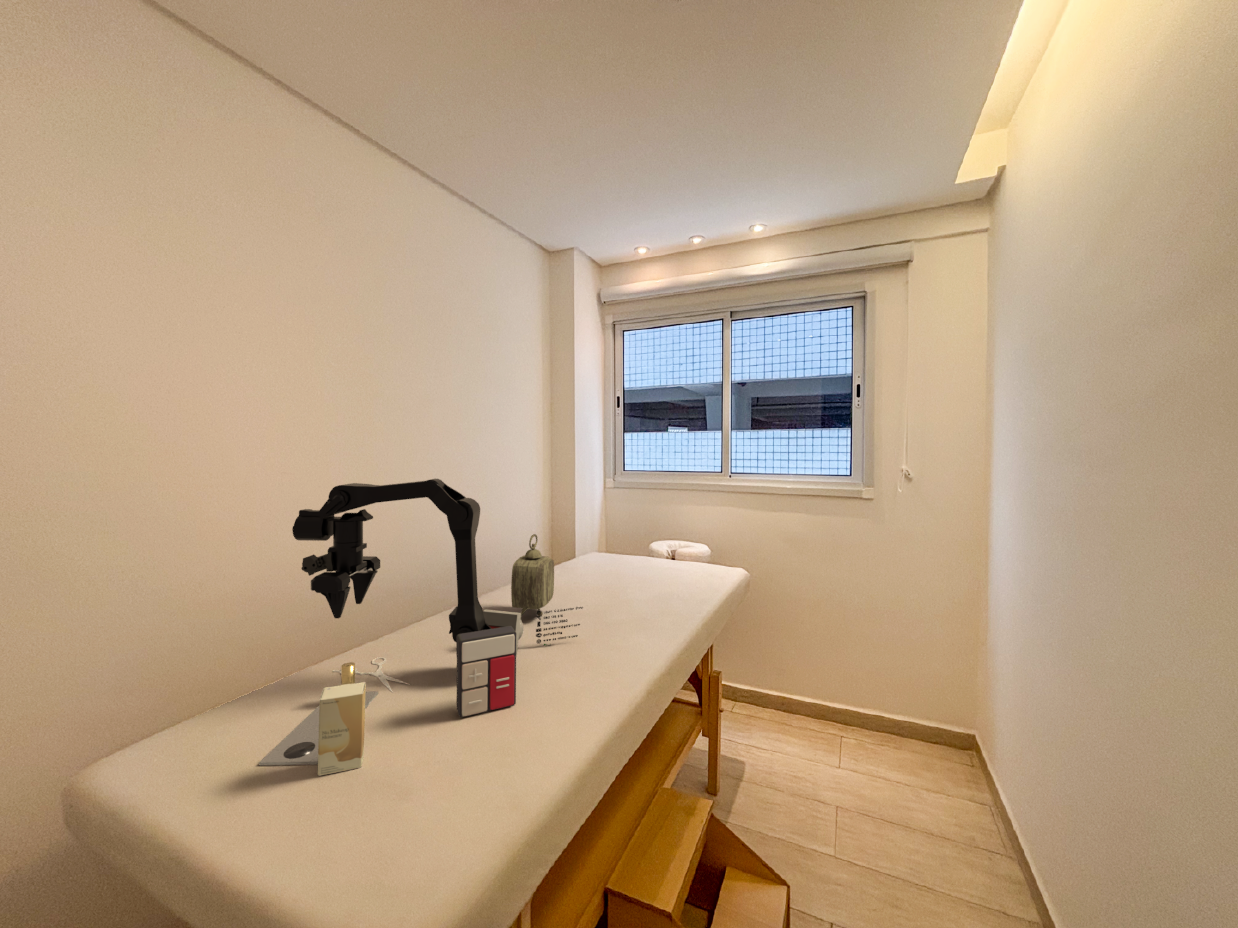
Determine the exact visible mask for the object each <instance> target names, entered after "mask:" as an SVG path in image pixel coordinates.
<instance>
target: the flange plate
mask: <svg viewBox="0 0 1238 928" xmlns="http://www.w3.org/2000/svg"><path fill="white" fill-rule="evenodd" d="M378 695H379V691H376V690H375V691H373V690H372V691H369V690H368V691H366V694H365V709H367V708H368V706H369V705H370V704H371V703H372V701H374V699H375V698H376V697H377V696H378ZM319 706H320V704H319V705H318V706H317V707H316V708H315V709H313V711H312V712H311V713H310V714H308V715H307V716H306V717H305V718H304V719H303V720H302V721H301V722H300V723H299V724H298V725H296V726H295V728H294V729H292V731H290V733H288V734H287V735H286V737H284V738H283V739H282V740H281V741H280V742H279V743H278V744H277V745H276V746H275V747H273V748H272V749H271V751H269V753H267V754H266V755H265V756H264V757H263V758H262V759H261V760H260V761H259V762H258V766H296V765H298V766H301V765H302V766H303V765H305V766H306V765H311V766H312V765H318V742H319Z"/></svg>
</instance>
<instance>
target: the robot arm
mask: <svg viewBox="0 0 1238 928" xmlns="http://www.w3.org/2000/svg"><path fill="white" fill-rule="evenodd" d="M424 498H427V499H429V500H430V501H431V502H432V503H433V505H435V506H436V508H437V509H438V510H439V511H440V512H442V513H443V514H444V515H446V518H447V524H448V527H449V530H450V533H451V535H452V538H453V540H454V547H455V551H454V552H455V569H456V572H455V573H456V589H457V592H456V593H457V605H455V607H454V608H453V610H452V611H451V612H450V613H449V614H448V620H449V625H450V627H449V632H448V634H449V635H451V637H452V640H453V641H454V642H455V643H456V636H457V635H458V634H462V633H469V632H475V631H481V630H487V629H492V628H491V627H490V626H489V625H488V624H487V623H485V618H484V614H483V611H484V610H483V608H482V605H481V602H480V601H479V595H478V593H479V592H478V577H477V576H478V573H477V555H476V554H477V550H476V548H477V547H476V537H477V536H476V535H477V533H478V528H479V523H480V516H481V506H480V503H479V502H477V501H476V499H474V498H471V497H466V496H465V495H464V494H462V493H460V491H457V490H456V489H454V488H452V487H451V486H449V485H448V484H446V483H445V482H444V481H443V480H442V479H439V478H432V479H427V480H418V481H410V482H402V483H400V482H399V483H391V484H390V483H389V484H382V485H379V484H370V483H360V482H358V483H357V482H352V483H347V484H345V483H344V484H340V485H336V486H333V487H332V488H331V490H330V492H329V494H328V499H327V500H326V501H325V502H324V504H323V505H322V506H321V508H320V509H309V508H305V509H300V510H299V511H298V516H296V519H295V520H294V523H293V525H292V536H293V538H294V539H295V540H296V541H307V542H308V541H310V542H311V541H313V542H314V541H315V542H316V541H317V542H319V541H323V542H325V541H328V540H330V539H331V537H333V540H332V541H333V543H332V546H330V547H328V549H327V553H326V554H321V555H320V556H317V555H315V554H312V555H309V556H305V557H303V558H302V563H301V567H300V568H301V570H302V572H304V573H307V575H308V576H313V575H314V574H316V573H319V572H322V571H323V572H322V573H320V574H317V575H316V576H314V577H313V578H312V579H311V580H310V591H312V592H313V591H314V592H315V593H316V594H321V595H322V596H324V597H325V599H326V601H327V603H328V605H329V608H330V610H331V613H332V615H333V618H334V619H340V618H341V617H342V615H343V612H344V610H345V606H346V603H347V600H348V596H349V594H350V590H351V586H350V584H351V581H352V585H353V593H354V600H355V604H356V605H360V604H362V603H363V601H364V599H365V597H366V594H367V592H368V590H369V589H370V586H371V584H372V582H373V580H374V578H375V576H376V575H377V573H378V570H379V569H380V568H381V559H380V558H379V557H378V556H375V555H373V556H372V555H371V556H368V555H367V556H366V555H365V556H364V550H365V549H367V547H368V545H367V544H368V543H367V542H365V543H364V522H367V521H370V520H373V519H374V516H373V515H372V514H371V513H370V512H368V511H367V509H365V508H363V509H360V510H359V511H358V512H348V511H352V510H355V509H359V508H362V507H366V506H369V505H374V504H377V503H384V502H385V503H386V502H395V501H403V500H412V499H424ZM342 513H343V514H342ZM338 514H341V516H336V515H338ZM324 570H326V571H324Z"/></svg>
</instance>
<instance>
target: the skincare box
mask: <svg viewBox="0 0 1238 928" xmlns="http://www.w3.org/2000/svg"><path fill="white" fill-rule="evenodd" d="M366 687H367V682H366V681H362V682H355V683H354V684H344V685H341V684H340V685H334V686H327V687H323V689H322V691H321V695H320V698H319V705H320V706H319V705H318V706H319V742H318V764H317V776H326V775H329V774H335V773H340V772H345V771H350V770H355V769H359V768H362V765H363V760H364V754H365V725H366V723H365V722H366V721H365V719H366V708H365V694H366V692H367V691H366V689H367V688H366Z"/></svg>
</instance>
